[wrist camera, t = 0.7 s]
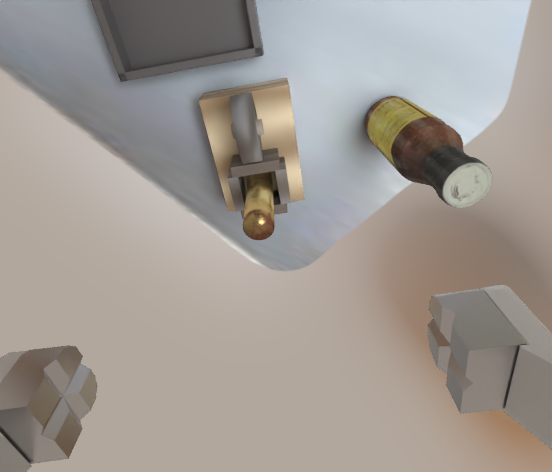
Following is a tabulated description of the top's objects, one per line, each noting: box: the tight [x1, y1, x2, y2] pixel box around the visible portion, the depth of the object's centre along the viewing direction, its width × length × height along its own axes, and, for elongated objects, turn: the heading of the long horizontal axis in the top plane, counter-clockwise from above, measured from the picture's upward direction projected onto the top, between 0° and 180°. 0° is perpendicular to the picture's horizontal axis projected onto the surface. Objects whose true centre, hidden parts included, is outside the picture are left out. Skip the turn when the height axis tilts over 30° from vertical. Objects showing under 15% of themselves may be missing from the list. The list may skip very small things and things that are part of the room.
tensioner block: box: [199, 78, 304, 219], centre depth 42 cm, size 14×10×11 cm
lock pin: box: [243, 172, 274, 240], centre depth 40 cm, size 3×3×12 cm
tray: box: [91, 0, 264, 82], centre depth 38 cm, size 16×12×4 cm
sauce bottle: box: [366, 96, 492, 208], centre depth 38 cm, size 6×6×20 cm
